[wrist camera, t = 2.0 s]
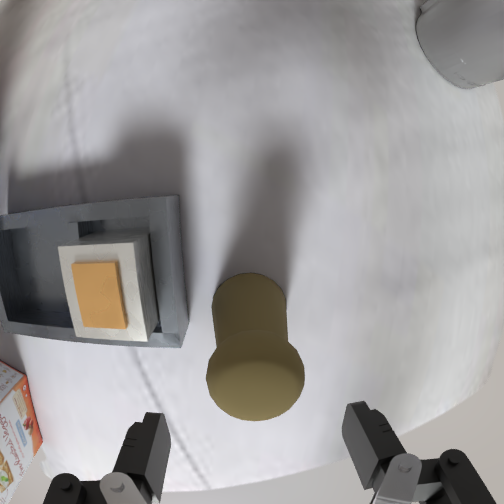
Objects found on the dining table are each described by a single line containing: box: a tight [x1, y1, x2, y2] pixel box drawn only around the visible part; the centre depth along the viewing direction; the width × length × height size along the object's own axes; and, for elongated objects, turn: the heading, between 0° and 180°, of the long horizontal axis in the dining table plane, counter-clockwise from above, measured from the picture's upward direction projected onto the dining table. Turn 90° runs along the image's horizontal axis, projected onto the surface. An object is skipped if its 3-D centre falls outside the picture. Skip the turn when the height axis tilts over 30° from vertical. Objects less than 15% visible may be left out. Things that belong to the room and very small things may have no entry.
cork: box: [206, 273, 305, 421], centre depth 18 cm, size 6×6×11 cm
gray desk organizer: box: [0, 195, 189, 348], centre depth 19 cm, size 10×18×7 cm, turn 91°
